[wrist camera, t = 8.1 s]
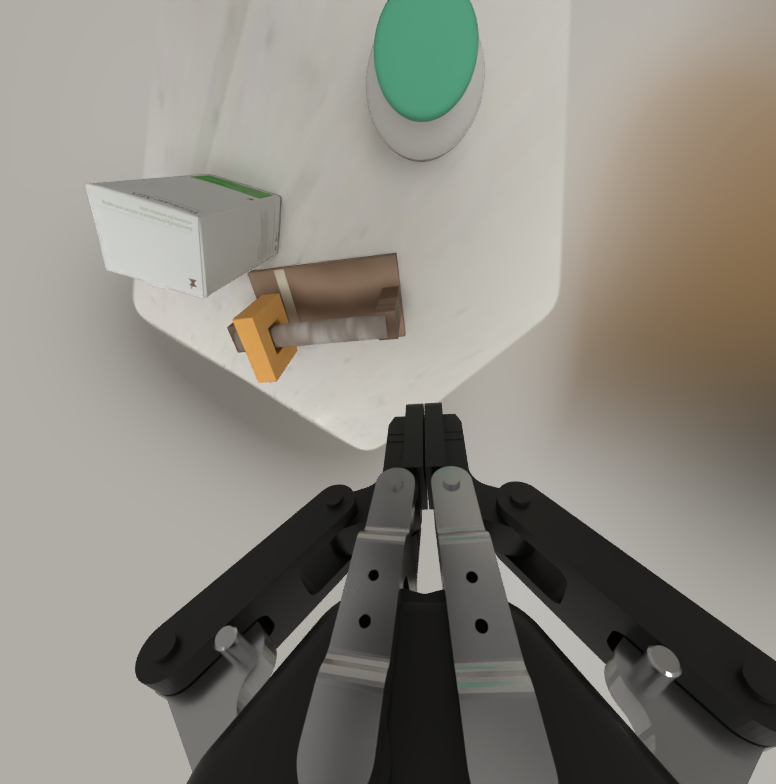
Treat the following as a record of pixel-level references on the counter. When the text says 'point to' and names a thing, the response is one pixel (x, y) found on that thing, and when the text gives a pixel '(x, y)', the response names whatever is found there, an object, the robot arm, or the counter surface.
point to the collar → (264, 337)
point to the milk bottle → (425, 76)
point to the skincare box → (184, 230)
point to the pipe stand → (333, 301)
